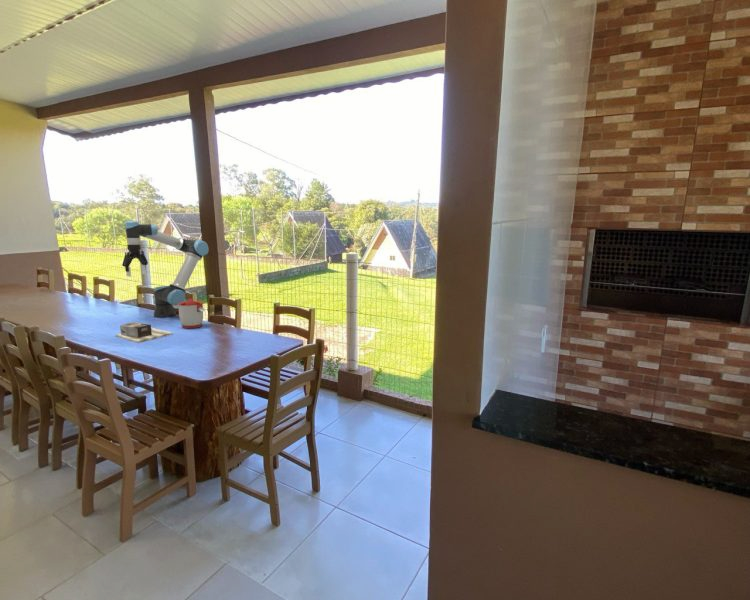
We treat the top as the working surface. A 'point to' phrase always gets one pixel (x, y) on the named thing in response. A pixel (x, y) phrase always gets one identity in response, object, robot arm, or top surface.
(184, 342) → the top surface
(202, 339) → the top surface
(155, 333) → the striped cloth
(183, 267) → the robot arm
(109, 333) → the top surface
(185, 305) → the citrus juicer
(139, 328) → the coffee box
